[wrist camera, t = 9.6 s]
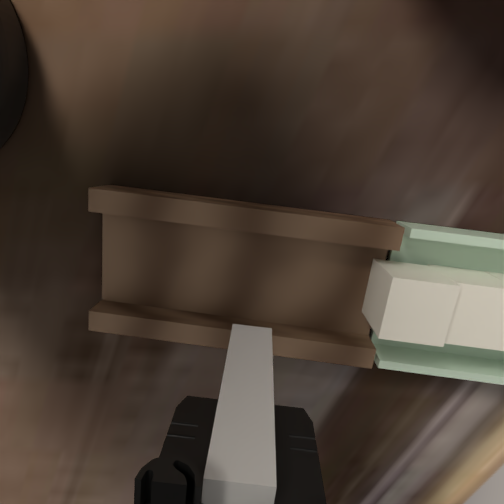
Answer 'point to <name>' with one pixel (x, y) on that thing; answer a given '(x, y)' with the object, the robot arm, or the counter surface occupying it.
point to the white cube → (476, 309)
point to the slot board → (237, 272)
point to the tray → (451, 255)
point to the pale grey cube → (409, 302)
